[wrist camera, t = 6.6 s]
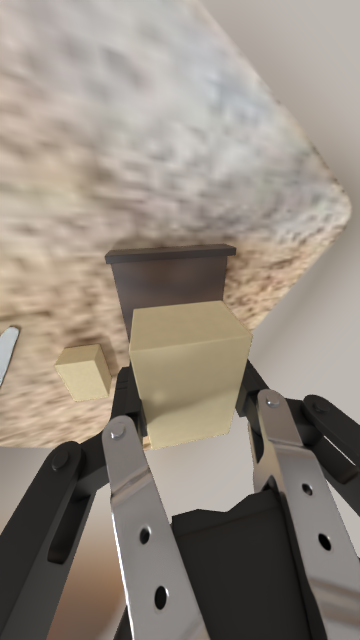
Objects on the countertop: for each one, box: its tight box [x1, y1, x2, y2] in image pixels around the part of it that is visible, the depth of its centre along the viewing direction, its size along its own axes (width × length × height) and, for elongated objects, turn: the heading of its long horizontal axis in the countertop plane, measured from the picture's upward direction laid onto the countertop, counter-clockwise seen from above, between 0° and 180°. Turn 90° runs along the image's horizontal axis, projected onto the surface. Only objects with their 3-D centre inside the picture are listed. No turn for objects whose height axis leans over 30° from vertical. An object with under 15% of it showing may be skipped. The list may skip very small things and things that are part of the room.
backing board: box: [105, 244, 236, 343], centre depth 24 cm, size 18×14×3 cm
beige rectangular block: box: [129, 300, 253, 450], centre depth 10 cm, size 8×5×4 cm, turn 1°
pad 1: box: [54, 344, 112, 402], centre depth 26 cm, size 8×5×4 cm, turn 1°
